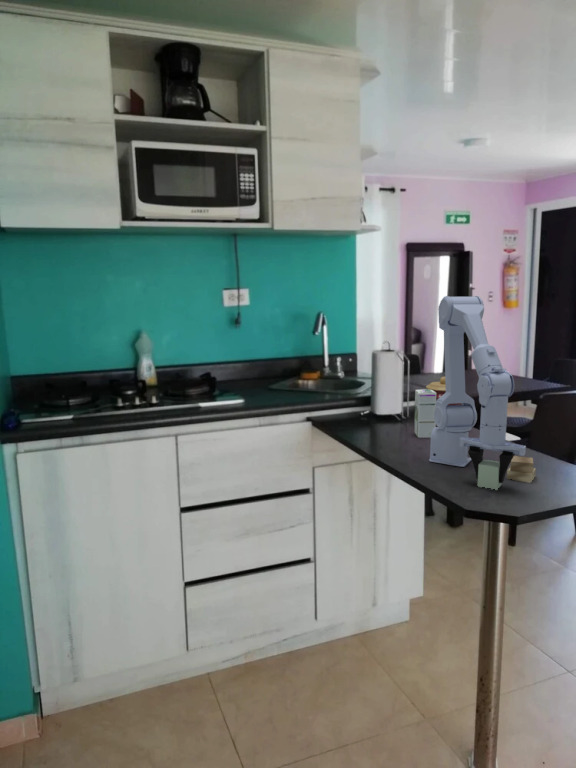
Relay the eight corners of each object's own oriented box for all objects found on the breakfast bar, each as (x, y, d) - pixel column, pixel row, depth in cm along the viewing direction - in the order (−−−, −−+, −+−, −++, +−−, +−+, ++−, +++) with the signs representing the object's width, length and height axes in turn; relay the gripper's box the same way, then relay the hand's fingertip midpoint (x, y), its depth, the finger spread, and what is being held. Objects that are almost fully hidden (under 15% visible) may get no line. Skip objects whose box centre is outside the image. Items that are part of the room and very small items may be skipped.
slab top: (510, 471, 137) (510, 461, 137) (510, 465, 142) (511, 455, 141) (532, 473, 135) (533, 463, 135) (532, 467, 140) (532, 457, 139)
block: (477, 486, 133) (478, 464, 132) (482, 481, 136) (483, 459, 135) (497, 490, 130) (498, 467, 129) (501, 484, 134) (503, 462, 133)
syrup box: (435, 437, 176) (437, 392, 173) (416, 437, 176) (418, 392, 173) (431, 433, 181) (433, 389, 179) (413, 433, 181) (414, 389, 179)
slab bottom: (506, 480, 138) (507, 470, 138) (511, 474, 142) (512, 464, 142) (530, 484, 135) (531, 474, 134) (535, 478, 139) (535, 468, 139)
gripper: (456, 423, 131) (454, 479, 134) (522, 431, 123) (518, 490, 126) (465, 417, 137) (462, 471, 139) (529, 425, 129) (525, 481, 131)
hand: (489, 479), depth 133 cm, fingers closed on block, 4 cm apart
